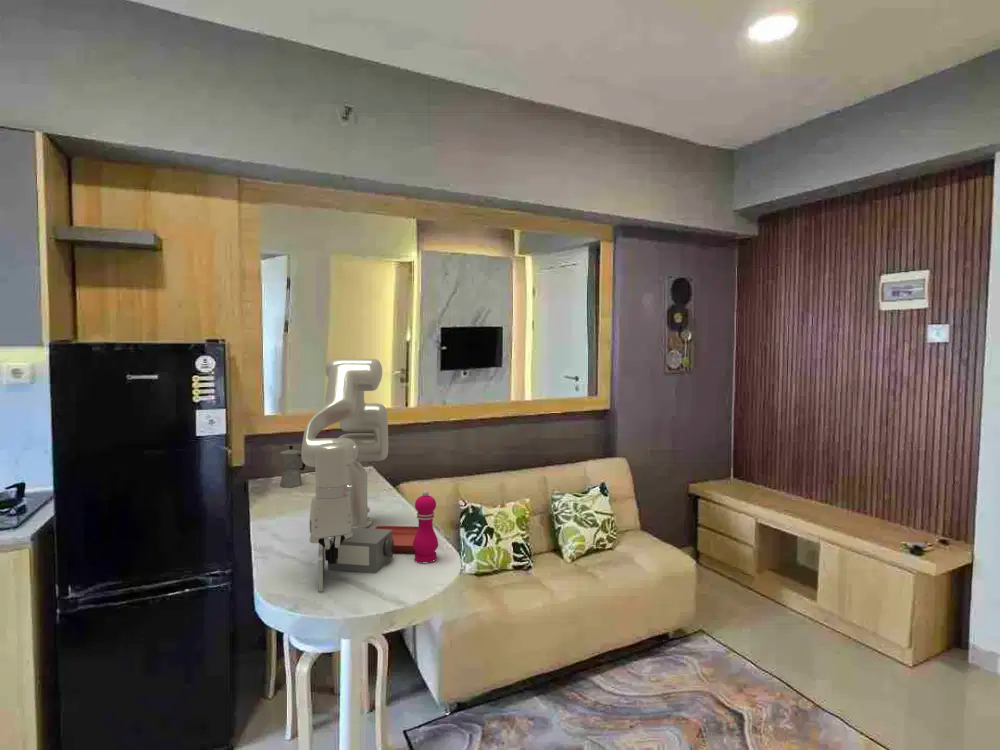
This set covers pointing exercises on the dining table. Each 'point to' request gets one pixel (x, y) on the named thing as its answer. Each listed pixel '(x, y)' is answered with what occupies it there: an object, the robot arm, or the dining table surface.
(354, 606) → the dining table surface
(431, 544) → the pepper mill
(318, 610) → the dining table surface
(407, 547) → the plant saucer
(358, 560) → the camera case
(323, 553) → the side door
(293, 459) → the coffeepot
